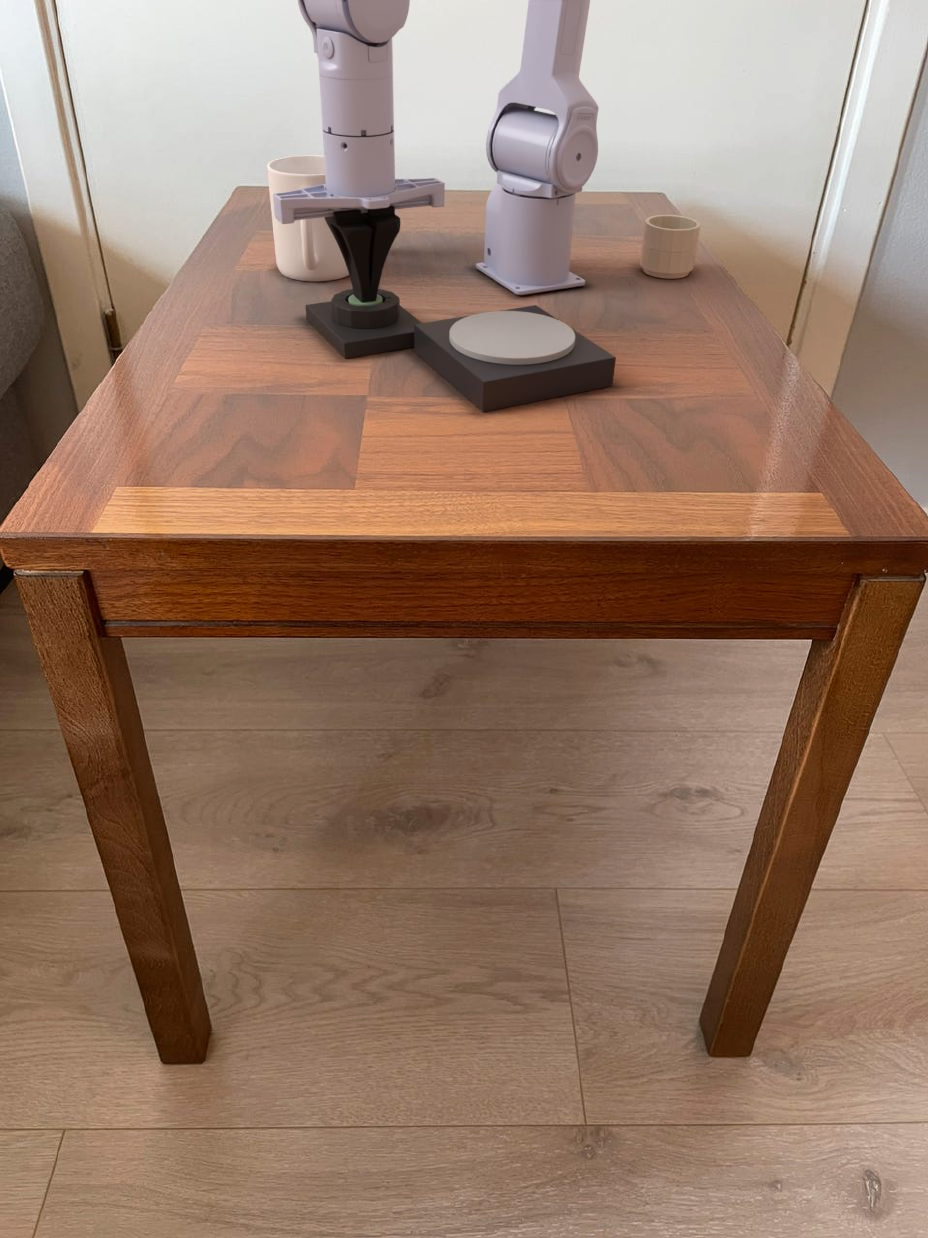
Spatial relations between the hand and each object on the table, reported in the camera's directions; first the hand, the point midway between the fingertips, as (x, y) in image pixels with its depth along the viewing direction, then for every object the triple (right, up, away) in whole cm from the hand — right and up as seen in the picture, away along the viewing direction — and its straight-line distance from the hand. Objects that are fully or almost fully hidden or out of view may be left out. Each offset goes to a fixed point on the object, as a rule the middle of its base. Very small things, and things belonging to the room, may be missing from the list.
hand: (365, 298), depth 86 cm
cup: (-6, +7, +14) cm, 17 cm away
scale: (+13, -7, -4) cm, 15 cm away
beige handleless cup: (+30, +9, +17) cm, 36 cm away
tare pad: (0, -2, +2) cm, 3 cm away
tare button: (0, -1, +1) cm, 1 cm away
